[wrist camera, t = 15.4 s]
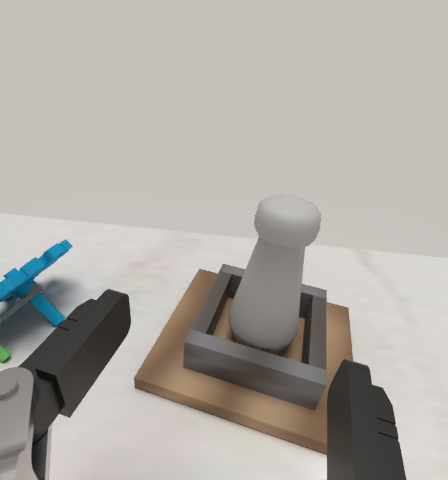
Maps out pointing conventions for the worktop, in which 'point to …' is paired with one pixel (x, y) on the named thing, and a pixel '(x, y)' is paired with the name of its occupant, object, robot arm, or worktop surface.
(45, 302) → the blue toy brick model
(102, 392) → the worktop surface
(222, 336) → the socket board
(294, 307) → the salt shaker
